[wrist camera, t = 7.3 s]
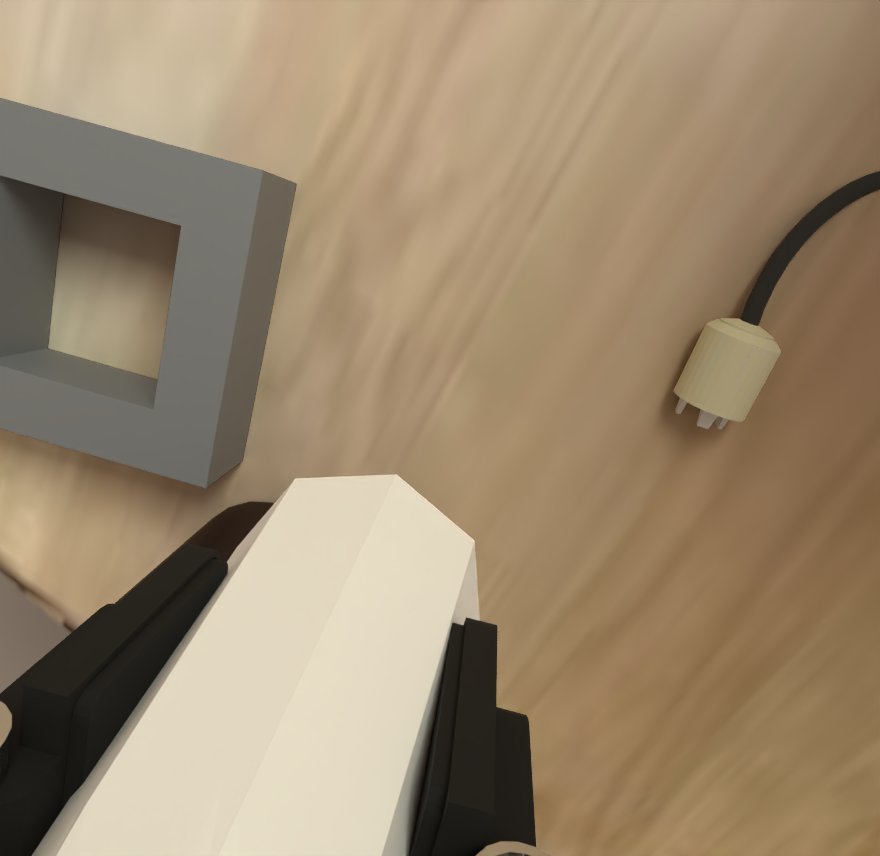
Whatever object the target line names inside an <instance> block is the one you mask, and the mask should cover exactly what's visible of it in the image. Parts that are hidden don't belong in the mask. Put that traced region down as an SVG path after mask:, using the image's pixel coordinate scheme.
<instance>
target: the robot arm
mask: <svg viewBox="0 0 880 856" xmlns="http://www.w3.org/2000/svg"><path fill="white" fill-rule="evenodd" d="M227 573H228V563H227V562H224V561H220V553H219V552H218V551H215V550H211V549H208V548H204V547H200V546H196V545H193V544H188V543H186V544H185V545H183V546H182V547H181V548H180V549H179V550H177V551H176V552H175V553H174V554H173V555H172V556H171V557H169V558H168V559H167V560H166V561H165V562H164V563H163V564H161V565H160V566H159V567H158V568H157V569H156V570H155V571H153V572H152V573H151V574H150V575H149V576H148V577H147V578H145V579H144V580H143V581H142V582H141V583H140V584H139V585H137V586H136V587H135V588H134V589H133V590H132V591H130V592H129V593H128V594H127V595H126V596H125V597H124V598H122V599H121V600H120V601H119V602H118V603H117V604H107V605H105V606H104V607H102V608H100V609H99V610H98V611H97V612H96V613H94V614H93V615H92V616H91V617H90V618H89V619H87V620H86V621H85V622H84V623H83V624H82V625H80V626H79V627H78V628H77V629H76V630H74V631H73V632H72V633H71V634H70V635H69V636H67V637H66V638H65V639H64V640H63V641H62V642H60V643H59V644H58V645H57V646H56V647H55V648H53V649H52V650H51V651H50V652H49V653H47V654H46V655H45V656H44V657H43V658H42V659H41V660H39V661H38V662H37V663H36V664H34V665H33V666H32V667H31V668H30V669H29V670H27V671H26V672H25V673H24V674H23V675H22V676H20V677H19V678H18V679H17V680H16V681H15V682H13V683H12V684H11V685H10V686H9V687H7V688H6V689H5V690H4V691H3V692H2V693H1V694H0V856H32V854H33V853H34V851H35V850H36V848H37V847H38V845H39V844H40V842H41V841H42V839H43V838H44V836H45V835H46V833H47V832H48V830H49V829H50V827H51V826H52V824H53V823H54V821H55V820H56V818H57V817H58V815H59V814H60V812H61V811H62V809H63V808H64V806H65V805H66V803H67V802H68V800H69V799H70V797H71V796H72V795H73V794H74V793H75V792H76V791H77V790H78V789H79V788H80V787H81V786H82V784H83V783H84V781H85V780H86V779H87V777H88V776H89V774H90V773H91V771H92V770H93V768H94V767H95V766H96V764H97V763H98V761H99V760H100V758H101V757H102V755H103V754H104V752H105V751H106V750H107V748H108V747H109V745H110V744H111V742H112V741H113V739H114V738H115V736H116V735H117V734H118V732H119V731H120V729H121V728H122V726H123V725H124V723H125V722H126V721H127V719H128V718H129V716H130V715H131V713H132V712H133V710H134V709H135V707H136V706H137V705H138V703H139V702H140V700H141V699H142V697H143V696H144V694H145V693H146V692H147V690H148V689H149V687H150V686H151V684H152V683H153V681H154V680H155V678H156V677H157V676H158V674H159V673H160V671H161V670H162V668H163V667H164V665H165V664H166V663H167V661H168V660H169V658H170V657H171V655H172V654H173V652H174V651H175V649H176V648H177V647H178V645H179V644H180V642H181V641H182V639H183V638H184V636H185V635H186V633H187V632H188V631H189V629H190V628H191V626H192V625H193V623H194V622H195V620H196V619H197V618H198V616H199V615H200V613H201V612H202V610H203V609H204V607H205V606H206V604H207V603H208V602H209V600H210V599H211V597H212V596H213V594H214V593H215V591H216V590H217V589H218V587H219V586H220V584H221V583H222V581H223V580H224V578H225V577H226V575H227ZM496 680H497V625H494V624H490V623H486V622H482V621H479V620H475V619H471V618H467V617H466V619H465V622H464V625H460V624H457V623H452V629H451V634H450V640H449V645H448V650H447V656H446V661H445V666H444V672H443V677H442V683H441V688H440V693H439V699H438V704H437V709H436V715H435V720H434V726H433V731H432V736H431V742H430V747H429V753H428V758H427V763H426V769H425V774H424V779H423V785H422V790H421V796H420V801H419V806H418V812H417V817H416V823H415V828H414V833H413V839H412V844H411V849H410V855H409V856H550V855H548V854H546V853H545V852H543V851H541V850H539V849H538V848H536V837H535V820H534V802H533V785H532V768H531V750H530V733H529V721H528V717H527V716H526V715H523V714H520V713H516V712H512V711H509V710H505V709H501V708H498V707H496Z"/></svg>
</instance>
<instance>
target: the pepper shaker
mask: <svg viewBox="0 0 880 856" xmlns="http://www.w3.org/2000/svg"><path fill="white" fill-rule="evenodd" d="M227 563H228V573H227V575H226V577H225V578H224V580H223V581H222V583H221V584H220V586H219V587H218V589H217V590H216V591H215V593H214V594H213V596H212V597H211V599H210V600H209V602H208V603H207V604H206V606H205V607H204V609H203V610H202V612H201V613H200V615H199V616H198V618H197V619H196V620H195V622H194V623H193V625H192V626H191V628H190V629H189V631H188V632H187V633H186V635H185V636H184V638H183V639H182V641H181V642H180V644H179V645H178V647H177V648H176V649H175V651H174V652H173V654H172V655H171V657H170V658H169V660H168V661H167V663H166V664H165V665H164V667H163V668H162V670H161V671H160V673H159V674H158V676H157V677H156V678H155V680H154V681H153V683H152V684H151V686H150V687H149V689H148V690H147V692H146V693H145V694H144V696H143V697H142V699H141V700H140V702H139V703H138V705H137V706H136V707H135V709H134V710H133V712H132V713H131V715H130V716H129V718H128V719H127V721H126V722H125V723H124V725H123V726H122V728H121V729H120V731H119V732H118V734H117V735H116V736H115V738H114V739H113V741H112V742H111V744H110V745H109V747H108V748H107V750H106V751H105V752H104V754H103V755H102V757H101V758H100V760H99V761H98V763H97V764H96V766H95V767H94V768H93V770H92V771H91V773H90V774H89V776H88V777H87V779H86V780H85V781H84V783H83V784H82V786H81V787H80V788H79V789H78V790H77V791H76V792H75V793H74V794H73V795H72V796H71V797H70V799H69V800H68V802H67V803H66V805H65V806H64V808H63V809H62V811H61V812H60V814H59V815H58V817H57V818H56V820H55V821H54V823H53V824H52V826H51V827H50V829H49V830H48V832H47V833H46V835H45V836H44V838H43V839H42V841H41V842H40V844H39V845H38V847H37V848H36V850H35V851H34V853H33V854H32V856H409V855H410V849H411V844H412V839H413V833H414V828H415V823H416V817H417V812H418V806H419V801H420V796H421V790H422V785H423V779H424V774H425V769H426V763H427V758H428V753H429V747H430V742H431V736H432V731H433V726H434V720H435V715H436V709H437V704H438V699H439V693H440V688H441V683H442V677H443V672H444V666H445V661H446V656H447V650H448V645H449V640H450V634H451V629H452V623H457V624H460V625H464V622H465V619H466V617H467V618H471V619H475V620H479V621H480V616H479V600H478V585H477V570H476V554H475V541H474V540H473V539H472V538H471V537H470V536H469V535H467V534H466V533H465V532H464V531H463V530H461V529H460V528H459V527H458V526H457V525H456V524H454V523H453V522H452V521H451V520H450V519H449V518H447V517H446V516H445V515H444V514H443V513H441V512H440V511H439V510H438V509H437V508H436V507H434V506H433V505H432V504H431V503H430V502H428V501H427V500H426V499H425V498H424V497H423V496H421V495H420V494H419V493H418V492H417V491H416V490H414V489H413V488H412V487H411V486H410V485H408V484H407V483H406V482H405V481H404V480H403V479H401V478H400V477H399V476H398V475H397V474H393V475H369V476H345V477H321V478H296V479H295V480H294V481H293V482H292V483H291V484H290V486H289V487H288V488H287V489H286V490H285V491H284V493H283V494H282V495H281V496H280V497H279V498H278V500H277V501H276V502H275V503H274V504H273V506H272V507H271V508H270V509H269V510H268V511H267V513H266V514H265V515H264V516H263V517H262V518H261V520H260V521H259V522H258V523H257V524H256V525H255V527H254V528H253V529H252V530H251V531H250V533H249V534H248V535H247V536H246V537H245V538H244V540H243V541H242V542H241V543H240V544H239V545H238V547H237V548H236V549H235V551H234V552H233V554H232V555H231V557H230V558H229V560H228V561H227Z"/></svg>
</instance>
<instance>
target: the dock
mask: <svg viewBox="0 0 880 856" xmlns="http://www.w3.org/2000/svg"><path fill="white" fill-rule="evenodd" d="M295 190H296V183H293V182H291V181H288V180H286V179H283V178H281V177H278V176H276V175H273V174H271V173H268V172H266V171H263V170H260V169H256V168H252V167H249V166H245V165H241V164H238V163H234V162H231V161H227V160H223V159H220V158H216V157H213V156H209V155H205V154H202V153H198V152H194V151H191V150H187V149H184V148H180V147H176V146H173V145H169V144H165V143H162V142H158V141H155V140H151V139H147V138H144V137H140V136H136V135H133V134H129V133H126V132H122V131H118V130H115V129H111V128H107V127H104V126H100V125H97V124H93V123H89V122H86V121H82V120H79V119H75V118H71V117H68V116H64V115H60V114H57V113H53V112H50V111H46V110H42V109H39V108H35V107H31V106H28V105H24V104H21V103H17V102H13V101H10V100H6V99H2V98H0V429H3V430H6V431H10V432H13V433H17V434H20V435H24V436H27V437H31V438H34V439H37V440H41V441H44V442H48V443H51V444H55V445H58V446H62V447H65V448H68V449H72V450H75V451H79V452H82V453H86V454H89V455H93V456H96V457H100V458H103V459H106V460H110V461H113V462H117V463H120V464H124V465H127V466H131V467H134V468H137V469H141V470H144V471H148V472H151V473H155V474H158V475H162V476H165V477H168V478H172V479H175V480H179V481H182V482H186V483H189V484H193V485H196V486H199V487H203V488H207V487H208V486H210V485H211V484H212V483H214V482H215V481H216V480H218V479H219V478H220V477H222V476H223V475H224V474H226V473H227V472H228V471H230V470H231V469H232V468H234V467H235V466H236V465H238V464H239V463H240V462H242V461H243V457H244V451H245V446H246V441H247V436H248V431H249V426H250V421H251V416H252V410H253V405H254V400H255V395H256V390H257V385H258V380H259V374H260V369H261V364H262V359H263V354H264V349H265V344H266V338H267V333H268V328H269V323H270V318H271V313H272V308H273V303H274V297H275V292H276V287H277V282H278V277H279V272H280V267H281V261H282V256H283V251H284V246H285V241H286V236H287V231H288V226H289V220H290V215H291V210H292V205H293V200H294V195H295ZM64 193H65V194H69V195H73V196H76V197H80V198H83V199H87V200H90V201H94V202H98V203H101V204H105V205H108V206H112V207H116V208H119V209H123V210H126V211H130V212H133V213H137V214H141V215H144V216H148V217H151V218H155V219H158V220H162V221H166V222H169V223H173V224H176V225H180V226H181V231H180V237H179V244H178V250H177V257H176V263H175V270H174V277H173V283H172V290H171V296H170V303H169V310H168V316H167V323H166V329H165V336H164V342H163V349H162V356H161V362H160V369H159V375H158V380H156V379H153V378H149V377H146V376H142V375H139V374H135V373H132V372H128V371H125V370H121V369H118V368H114V367H111V366H107V365H104V364H100V363H97V362H93V361H90V360H86V359H83V358H79V357H76V356H72V355H69V354H65V353H62V352H58V351H55V350H51V349H48V341H49V331H50V321H51V312H52V302H53V293H54V283H55V273H56V264H57V254H58V245H59V235H60V225H61V216H62V206H63V196H64Z"/></svg>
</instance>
